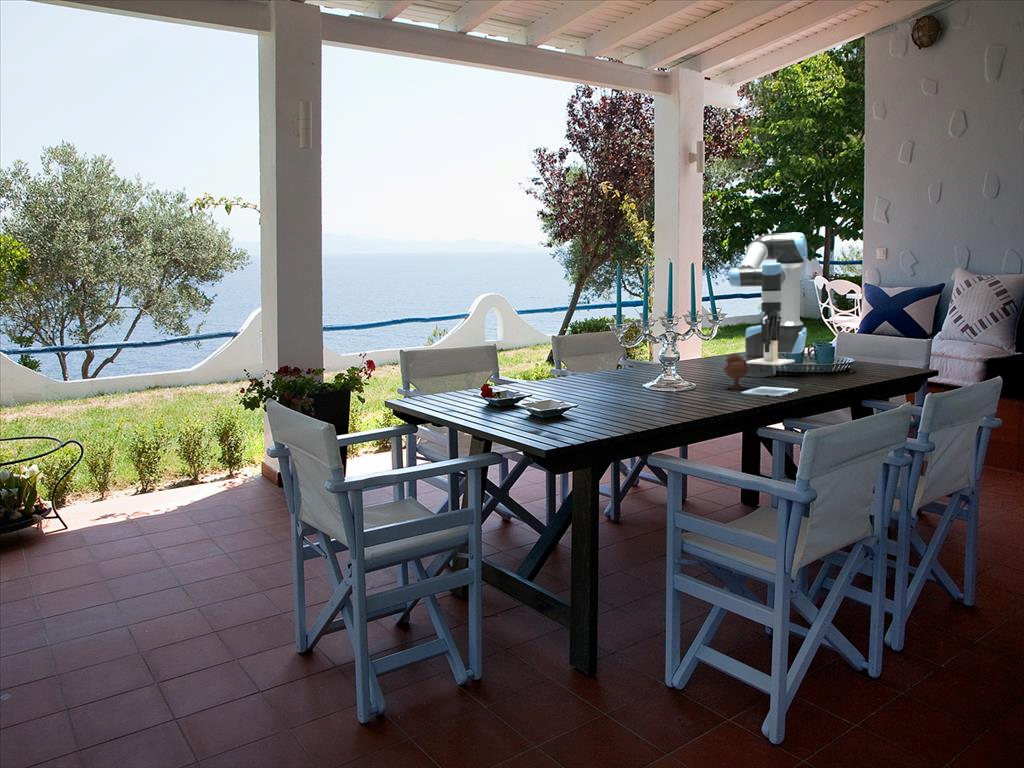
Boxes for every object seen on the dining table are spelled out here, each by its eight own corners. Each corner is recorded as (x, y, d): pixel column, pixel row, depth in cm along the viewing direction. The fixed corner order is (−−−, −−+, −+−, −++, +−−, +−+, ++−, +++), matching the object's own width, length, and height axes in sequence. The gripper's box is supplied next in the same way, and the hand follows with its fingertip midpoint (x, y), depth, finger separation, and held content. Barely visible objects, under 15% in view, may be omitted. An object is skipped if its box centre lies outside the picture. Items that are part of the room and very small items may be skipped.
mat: (761, 387, 355) (761, 386, 355) (798, 390, 345) (798, 389, 345) (741, 393, 342) (741, 392, 342) (779, 396, 332) (779, 395, 331)
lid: (762, 359, 352) (762, 338, 350) (794, 361, 342) (795, 340, 341) (746, 363, 341) (746, 341, 340) (779, 365, 332) (779, 342, 331)
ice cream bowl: (744, 391, 348) (744, 354, 346) (718, 389, 355) (718, 353, 353) (754, 387, 357) (754, 352, 354) (728, 386, 363) (729, 351, 361)
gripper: (771, 300, 347) (771, 357, 350) (752, 302, 335) (752, 361, 338) (789, 300, 342) (788, 358, 345) (770, 302, 330) (769, 362, 333)
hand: (770, 359), depth 342 cm, fingers closed on lid, 4 cm apart
